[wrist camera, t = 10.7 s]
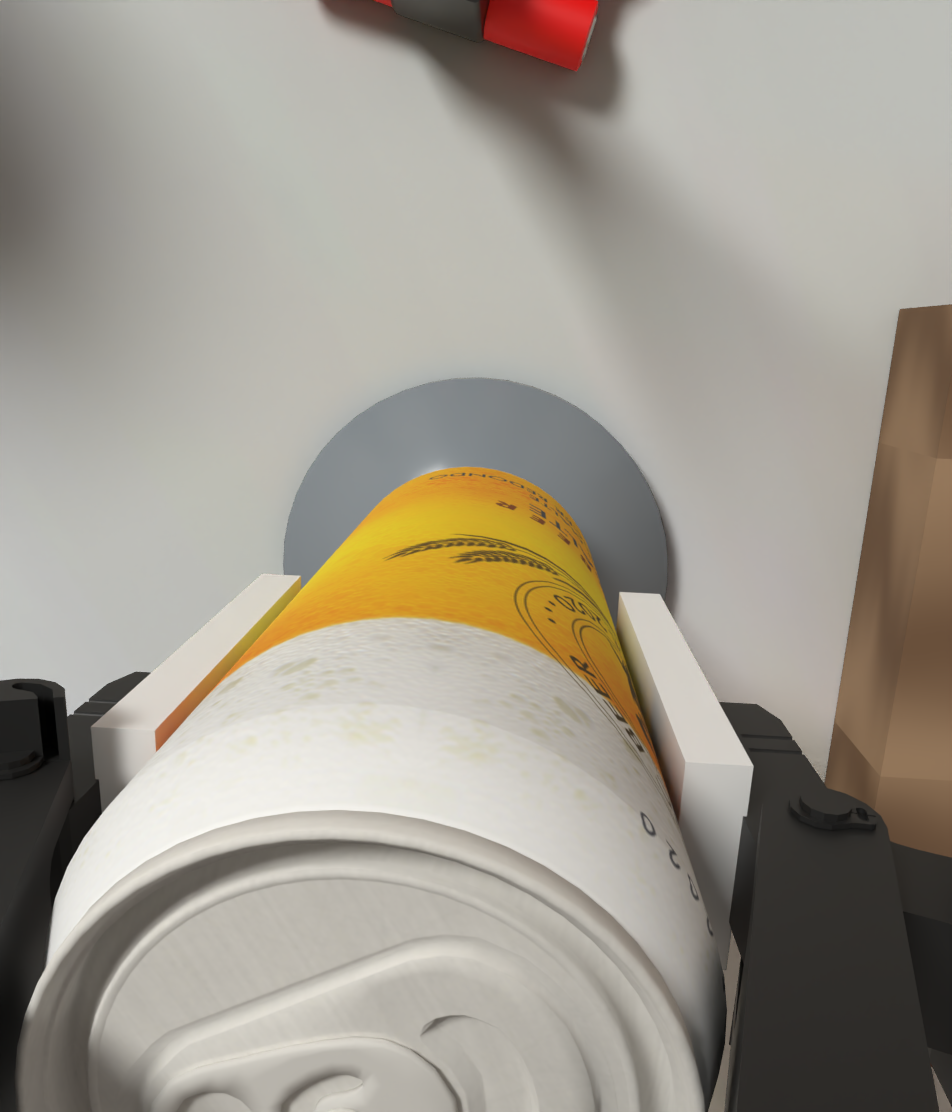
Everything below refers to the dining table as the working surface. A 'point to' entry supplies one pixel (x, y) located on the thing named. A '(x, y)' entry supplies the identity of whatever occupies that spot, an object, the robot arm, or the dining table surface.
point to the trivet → (490, 442)
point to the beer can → (395, 856)
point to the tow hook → (513, 24)
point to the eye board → (905, 604)
